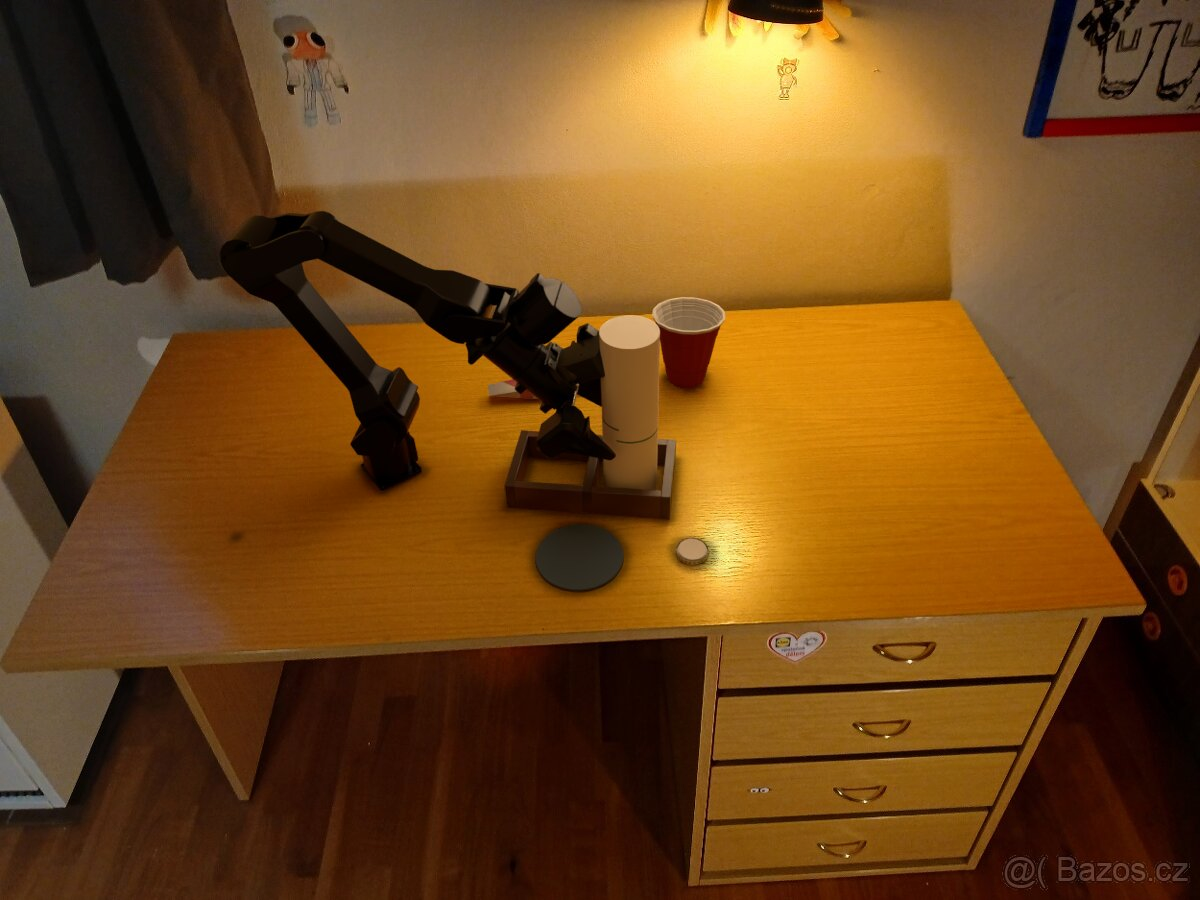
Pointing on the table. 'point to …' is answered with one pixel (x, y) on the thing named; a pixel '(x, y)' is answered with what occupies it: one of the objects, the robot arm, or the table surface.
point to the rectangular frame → (587, 486)
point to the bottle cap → (692, 551)
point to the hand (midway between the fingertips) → (617, 434)
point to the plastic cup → (687, 338)
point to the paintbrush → (507, 390)
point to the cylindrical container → (630, 400)
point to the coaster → (579, 557)
